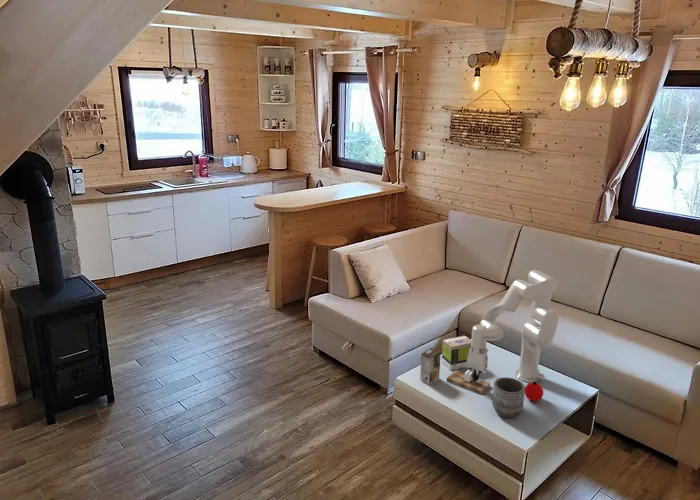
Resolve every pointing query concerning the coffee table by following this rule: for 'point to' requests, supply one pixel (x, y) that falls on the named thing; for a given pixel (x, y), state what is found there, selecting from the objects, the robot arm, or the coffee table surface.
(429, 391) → the coffee table surface
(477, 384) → the fader console
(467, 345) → the tea box
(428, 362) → the coffee box
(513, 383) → the planter
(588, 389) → the coffee table surface
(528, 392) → the ornament
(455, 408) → the coffee table surface
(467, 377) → the fader
